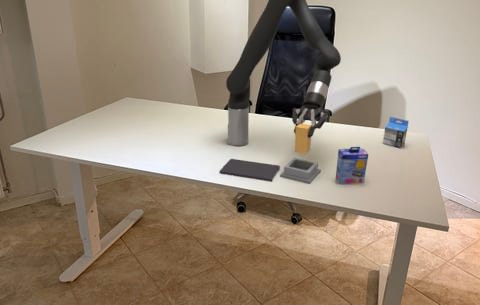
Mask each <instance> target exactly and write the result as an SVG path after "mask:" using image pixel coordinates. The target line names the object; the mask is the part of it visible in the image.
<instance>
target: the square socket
mask: <svg viewBox="0 0 480 305" xmlns="http://www.w3.org/2000/svg"><path fill="white" fill-rule="evenodd" d="M318 166H319V162H316V161H315V162H314V161H311V160H307V159H302V158H297V157H294V158H292V159H291V160H290V161H289V162H288V163H287V164H285V166H284V167H283V171H282V172H281V173H280V174H279V177H280V178H283V179H287V180H291V181H296V182H298V183H299V182H300V183H304V184H308V185H310V184H311V183H312V182H313V181H314V180H315V179H316V178H317V177H318V176H319V174H320V173H321V171H322V169H320V168H318Z"/></svg>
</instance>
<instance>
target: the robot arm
mask: <svg viewBox="0 0 480 305" xmlns="http://www.w3.org/2000/svg"><path fill="white" fill-rule="evenodd" d="M287 7H288V8H290V10H291V12H292V13H293V15H294V16H295V18H296V20H297V23H298V26H299V28H300V32H301V34H302V36H303V38H304V40H305V42H306V43H307V45H308V46H309V48H310V49H311V50H312V51H319V52H320V55H319V56H318V57H317V58H316V60H315V61H314V68H313V76H312V79H311V82H310V85H308V88H307V91H306V94H305V96H304V99H303V103H302V105H301V107H300V108H296V107H293V108H292V123H293V125H294V126H295V127H294V130H293V133H294V135H295V134H296V126H298V125H299V124H300V123H301V124H305V122H306V121H310V125H311V127H310V129H309V132H308V137H309V138H311V139H312V138H313V136H314V133H315V130H316V129H319V130H320V129H321V128H322V127H323V125H324V124H325V123H326V121H327V119H328V117H329V115H328V113H327V112H323V111H322V110H323V108H324V105H325V102H326V99H327V96H328V91H329V87H330V85H331V81H332V74H331V73H330V72H331V70H332V69H334V68H336V67H337V66H339V65H340V64H341V60H342V58H341V57H342V56H341V54H340V52H339V49H337V47H336V46H335V45H334V44H333V43H332V42H331V41H330V40H329V39H328V38H326V35H325V33H324V32H323V30H322V28H321V27H320V26H319V23H318V22H317V20H316V18H315V16H314V15H313V13H312V11H311V9H310V6H309V5H308V3H307V0H268V1H267V4H266V6H265V8H264V10H263V11H262V13H261V15H260V17H259V19H258V20H257V22H256V24H255V26H254V28H253V29H252V31H251V33H250V35H249V37H248V39H247V41H246V43H245V45H244V48H243V50H242V53H241V54H240V57H239V59H238V61H237V63H236V64H235V66H234V68H233V70H231V72H230V74H229V75H228V77H227V78H226V82H225V83H226V88H227V90H228V92H229V98H228V101H227V107H228V109H227V112H228V113H227V116H228V117H227V121H228V122H227V144H228V145H231V146H234V147H243V146H246V145H248V144H249V121H250V120H249V116H250V112H249V111H250V110H249V109H250V107H249V105H250V98H251V76H252V73H253V72H254V70H255V68H256V67H257V65H259V63H260V62H261V60H262V59H263V58H264V56H265V55H266V53H267V52H268V50H269V49H270V47H271V45H272V43H273V41H274V40H275V37H276V36H277V31H278V27H279V24H280V21H281V18H282V16H283V14H284V12H285V10H286V9H287ZM299 114H300V115H299ZM298 115H299V117H298ZM319 117H320V118H319ZM318 118H319V120H318V121H317V119H318Z"/></svg>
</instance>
